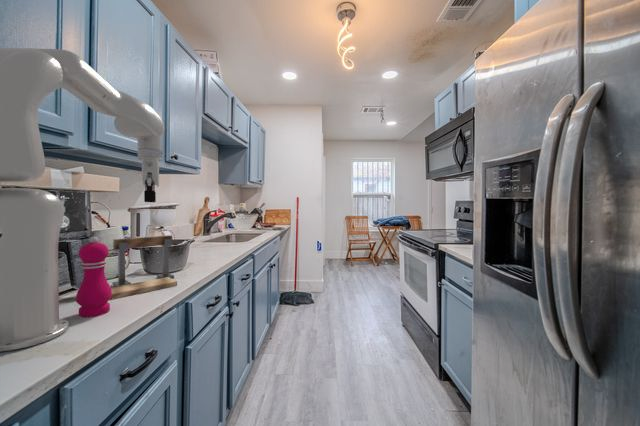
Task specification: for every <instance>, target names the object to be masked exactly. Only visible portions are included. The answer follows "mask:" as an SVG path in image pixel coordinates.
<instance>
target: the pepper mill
mask: <svg viewBox="0 0 640 426" xmlns="http://www.w3.org/2000/svg"><path fill="white" fill-rule="evenodd" d="M88 240H89V243H85V244H84V245H82V246H81V247H80V249H78V250H79V251H78V257H79V259H80V260H82V262H81V269H83V278H82V281H81V284H80V286H79V288H78V290H77V292H76V295H75V302H76V303H77V304H78V305H79V306H80V307H79V308H78V316H79V317H80V318H93V317H98V316H101V315H104V314H106V313H108V312H110V310H111V307H110V306H111V303H110V302H108V301H109V299H110V298H111V297H112V290H111V286H110V284H109V282H108V280H107V278H106V274H105V267H106V266H107V260H106V258H107V257H108V256H109V253H110V252H109V251H110V249H109V248H108V246H107V245H106V244H104V243H102V242H99V238H98V237H97V236H91V237H90V238H89V239H88ZM110 300H111V299H110Z"/></svg>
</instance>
